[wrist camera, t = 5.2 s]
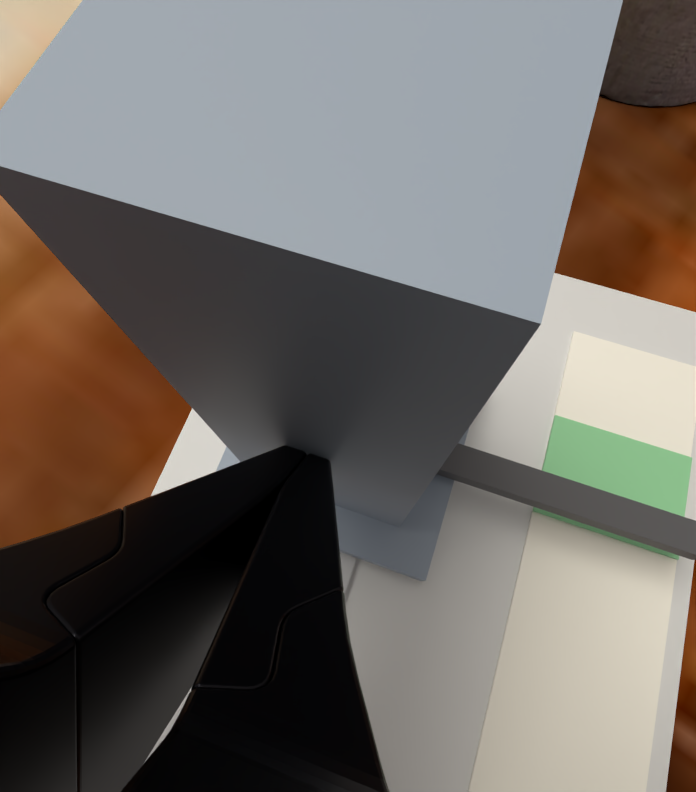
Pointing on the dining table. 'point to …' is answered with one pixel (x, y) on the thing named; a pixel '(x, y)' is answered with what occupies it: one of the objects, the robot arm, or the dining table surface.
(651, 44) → the pillar candle
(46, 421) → the dining table surface
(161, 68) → the tuning slider
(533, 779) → the gauge board
